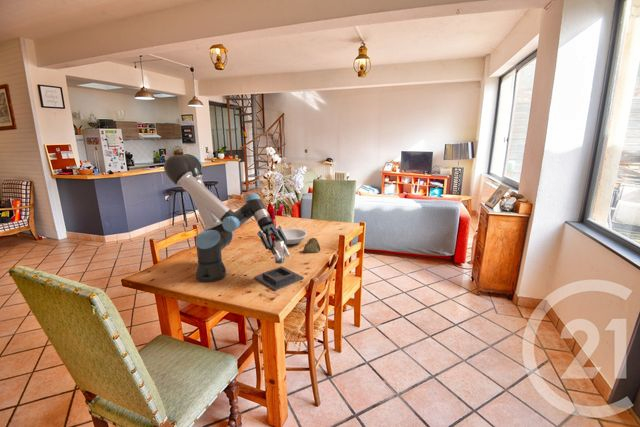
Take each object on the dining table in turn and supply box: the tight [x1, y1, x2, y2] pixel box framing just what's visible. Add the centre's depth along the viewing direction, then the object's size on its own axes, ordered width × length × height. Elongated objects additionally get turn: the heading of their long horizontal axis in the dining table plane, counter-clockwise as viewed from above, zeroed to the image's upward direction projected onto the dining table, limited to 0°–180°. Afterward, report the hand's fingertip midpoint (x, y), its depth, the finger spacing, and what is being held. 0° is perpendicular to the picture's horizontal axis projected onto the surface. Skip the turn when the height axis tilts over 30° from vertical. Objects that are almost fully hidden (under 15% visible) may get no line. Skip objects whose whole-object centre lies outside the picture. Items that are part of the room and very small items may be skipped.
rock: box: [302, 237, 321, 253], centre depth 193 cm, size 11×9×10 cm
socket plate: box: [254, 266, 305, 292], centre depth 155 cm, size 18×18×3 cm
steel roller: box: [273, 239, 286, 264], centre depth 152 cm, size 5×5×11 cm
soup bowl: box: [272, 228, 308, 245], centre depth 208 cm, size 24×24×7 cm
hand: (283, 257), depth 150 cm, fingers closed on steel roller, 5 cm apart
